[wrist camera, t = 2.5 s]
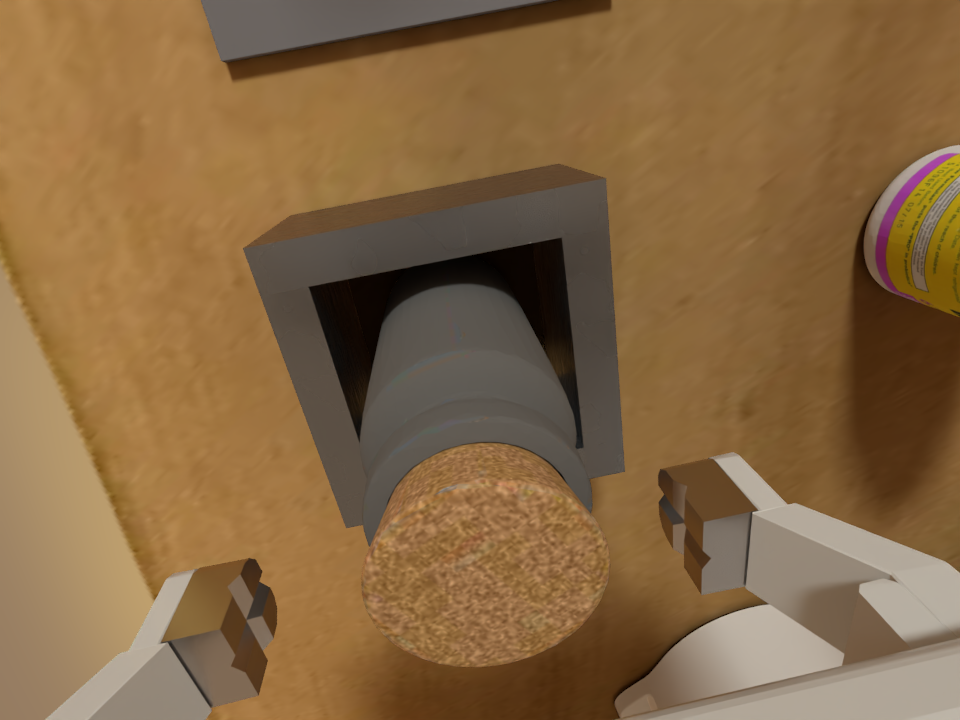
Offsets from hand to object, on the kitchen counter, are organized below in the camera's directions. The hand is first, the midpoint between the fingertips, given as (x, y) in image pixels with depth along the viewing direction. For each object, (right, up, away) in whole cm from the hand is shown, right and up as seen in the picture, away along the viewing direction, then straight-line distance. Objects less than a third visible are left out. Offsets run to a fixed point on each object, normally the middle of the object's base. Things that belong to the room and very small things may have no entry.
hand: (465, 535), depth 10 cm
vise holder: (0, +3, +14) cm, 14 cm away
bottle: (-1, +6, +13) cm, 14 cm away
